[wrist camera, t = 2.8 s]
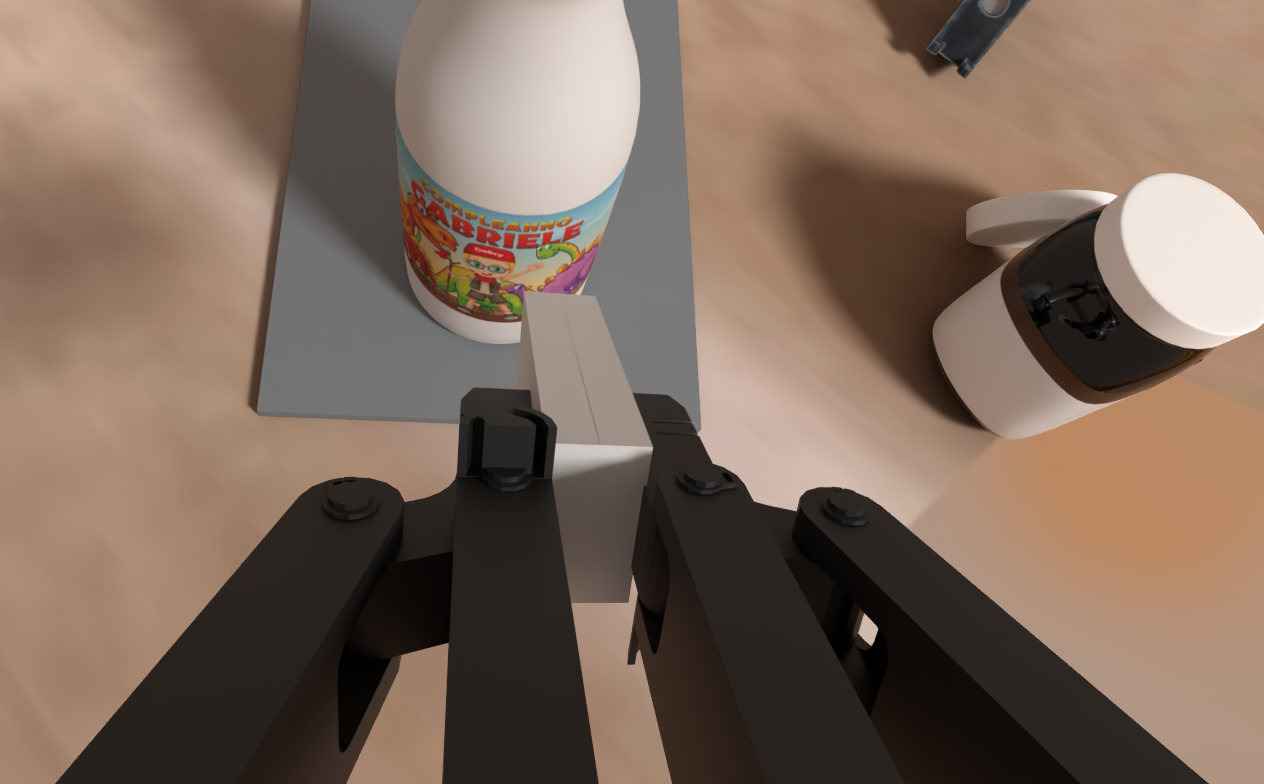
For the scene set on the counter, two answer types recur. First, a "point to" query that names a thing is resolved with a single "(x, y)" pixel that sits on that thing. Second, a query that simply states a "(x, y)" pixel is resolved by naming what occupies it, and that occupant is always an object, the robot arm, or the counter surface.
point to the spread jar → (1097, 299)
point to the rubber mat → (375, 257)
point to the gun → (974, 31)
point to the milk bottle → (510, 151)
